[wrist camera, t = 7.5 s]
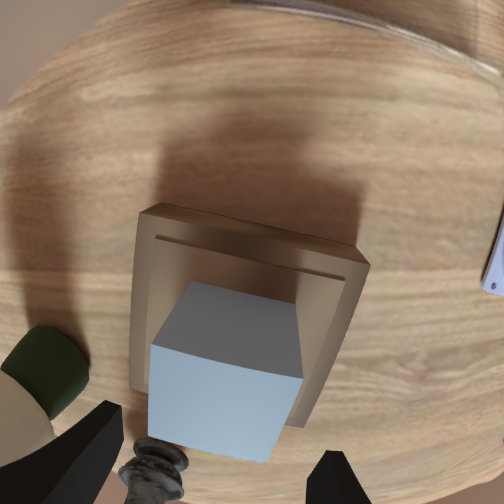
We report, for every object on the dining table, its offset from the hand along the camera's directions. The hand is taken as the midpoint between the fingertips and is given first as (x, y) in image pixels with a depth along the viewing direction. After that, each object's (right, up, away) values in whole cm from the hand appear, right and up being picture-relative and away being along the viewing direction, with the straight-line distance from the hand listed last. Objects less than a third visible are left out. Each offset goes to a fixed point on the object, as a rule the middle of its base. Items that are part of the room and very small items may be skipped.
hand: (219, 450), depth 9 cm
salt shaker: (-7, -12, +15) cm, 20 cm away
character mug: (-14, -1, +12) cm, 19 cm away
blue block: (0, +3, +6) cm, 7 cm away
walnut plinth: (0, +3, +9) cm, 10 cm away
